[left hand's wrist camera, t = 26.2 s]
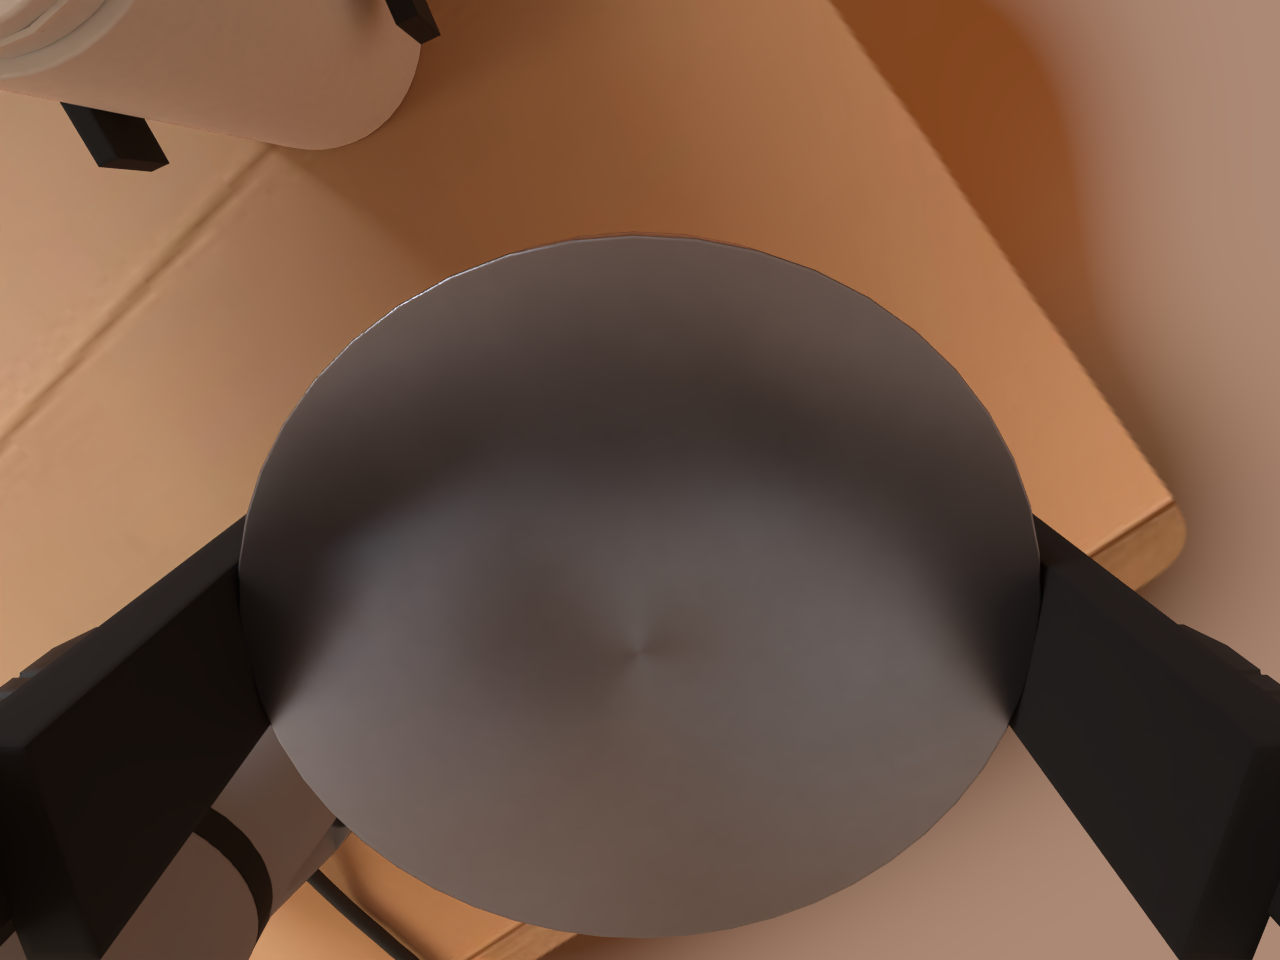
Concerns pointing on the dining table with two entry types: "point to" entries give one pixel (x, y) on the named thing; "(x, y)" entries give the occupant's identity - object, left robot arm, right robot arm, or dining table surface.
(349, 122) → the jar
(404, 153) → the dining table surface
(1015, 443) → the dining table surface
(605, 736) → the lid
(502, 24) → the dining table surface
